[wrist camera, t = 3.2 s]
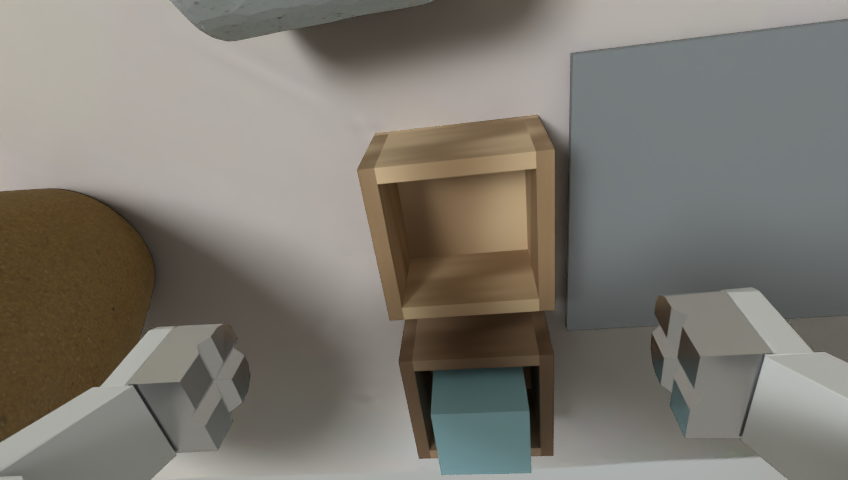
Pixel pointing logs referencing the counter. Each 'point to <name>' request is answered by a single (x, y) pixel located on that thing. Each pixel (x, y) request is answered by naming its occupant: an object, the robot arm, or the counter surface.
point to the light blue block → (481, 421)
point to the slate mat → (709, 173)
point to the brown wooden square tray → (479, 366)
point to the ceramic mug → (276, 14)
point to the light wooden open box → (463, 218)
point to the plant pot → (65, 299)
